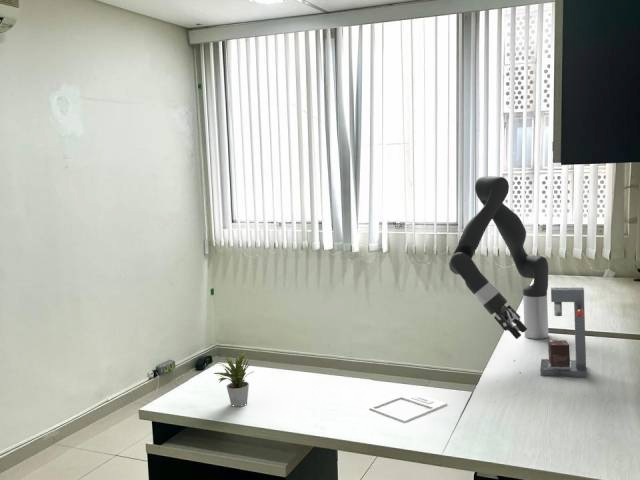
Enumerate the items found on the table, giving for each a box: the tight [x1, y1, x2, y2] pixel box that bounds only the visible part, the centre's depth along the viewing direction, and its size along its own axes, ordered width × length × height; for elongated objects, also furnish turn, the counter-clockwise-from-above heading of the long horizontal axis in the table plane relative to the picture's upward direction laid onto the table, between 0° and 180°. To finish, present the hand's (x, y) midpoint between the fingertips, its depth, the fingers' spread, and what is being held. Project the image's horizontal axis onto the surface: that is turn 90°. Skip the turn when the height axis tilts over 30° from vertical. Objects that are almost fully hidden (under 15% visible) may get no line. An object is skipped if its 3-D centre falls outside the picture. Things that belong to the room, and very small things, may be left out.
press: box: [539, 287, 588, 379], centre depth 199 cm, size 17×14×28 cm
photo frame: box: [369, 391, 448, 423], centre depth 180 cm, size 15×1×18 cm
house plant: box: [213, 351, 253, 407], centre depth 193 cm, size 14×14×16 cm
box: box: [547, 339, 571, 366], centre depth 202 cm, size 6×6×7 cm
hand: (522, 334), depth 211 cm, fingers open, 8 cm apart
